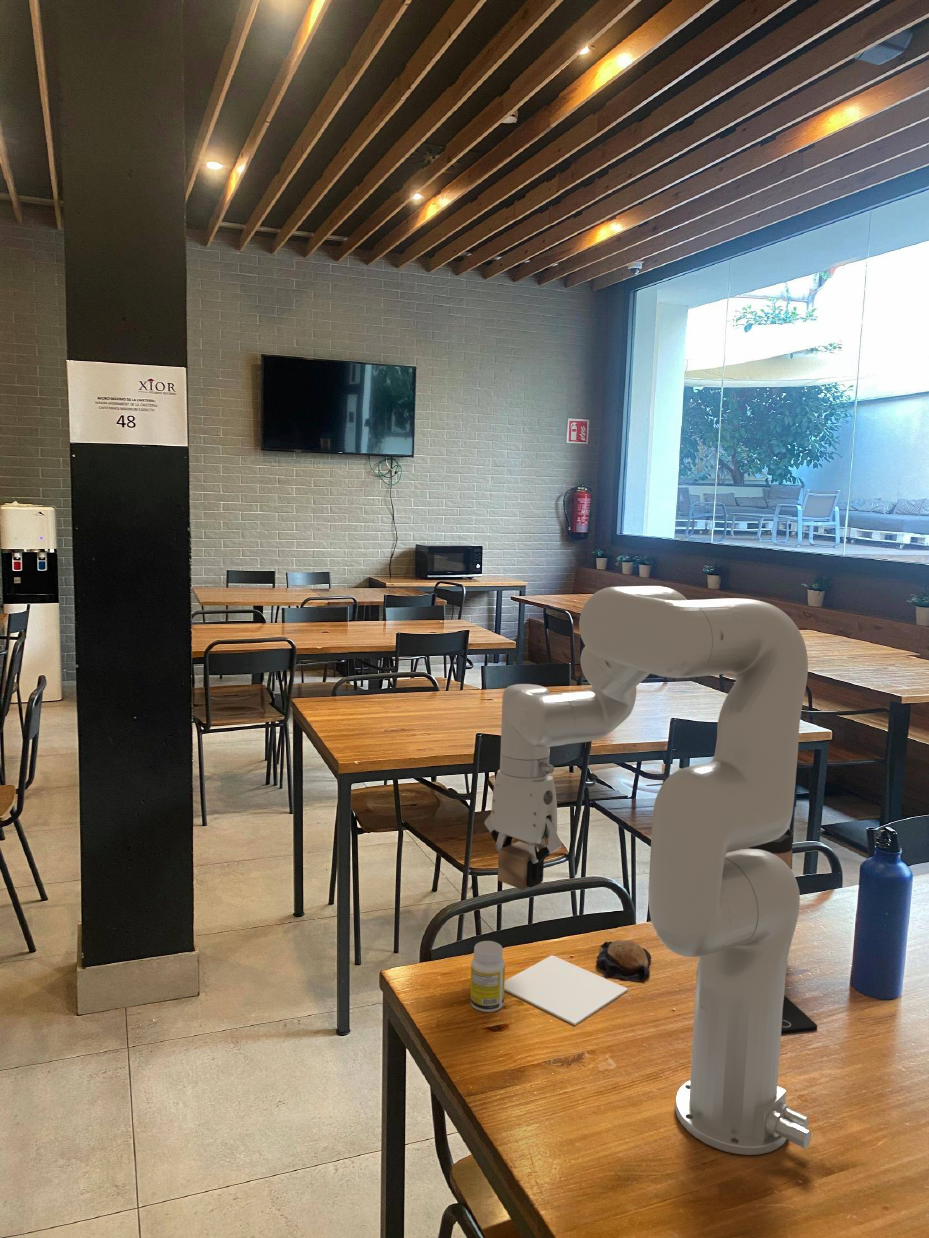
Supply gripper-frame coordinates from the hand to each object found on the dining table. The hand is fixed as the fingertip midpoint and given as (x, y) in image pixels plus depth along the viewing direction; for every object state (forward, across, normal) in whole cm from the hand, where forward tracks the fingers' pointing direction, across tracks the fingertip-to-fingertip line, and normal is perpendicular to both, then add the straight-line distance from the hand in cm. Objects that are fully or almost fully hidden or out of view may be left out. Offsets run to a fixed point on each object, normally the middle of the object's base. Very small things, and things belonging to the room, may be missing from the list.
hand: (520, 878), depth 138 cm
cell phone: (+13, -32, -15) cm, 38 cm away
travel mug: (+13, -26, -30) cm, 42 cm away
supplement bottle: (+13, -6, +14) cm, 20 cm away
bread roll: (+13, -13, -10) cm, 21 cm away
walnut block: (0, 0, 0) cm, 0 cm away
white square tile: (+13, -11, +3) cm, 17 cm away
